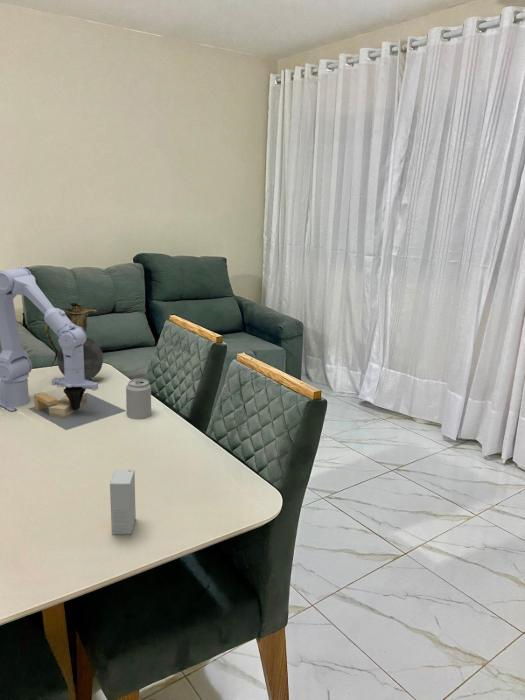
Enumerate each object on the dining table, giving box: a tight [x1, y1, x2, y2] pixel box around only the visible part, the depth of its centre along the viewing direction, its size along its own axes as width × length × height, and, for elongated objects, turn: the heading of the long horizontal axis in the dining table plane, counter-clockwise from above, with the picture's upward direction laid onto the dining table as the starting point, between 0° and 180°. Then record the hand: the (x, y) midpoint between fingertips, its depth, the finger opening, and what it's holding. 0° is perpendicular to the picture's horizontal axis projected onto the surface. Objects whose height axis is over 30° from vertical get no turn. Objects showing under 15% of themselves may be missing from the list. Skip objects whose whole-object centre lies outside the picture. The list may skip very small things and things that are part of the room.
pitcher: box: [44, 302, 104, 382], centre depth 192 cm, size 11×19×30 cm, turn 107°
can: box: [125, 378, 152, 420], centre depth 168 cm, size 8×8×12 cm
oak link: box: [49, 392, 87, 418], centre depth 170 cm, size 14×5×3 cm, turn 170°
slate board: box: [28, 391, 127, 431], centre depth 170 cm, size 22×21×6 cm
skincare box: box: [109, 468, 137, 536], centre depth 113 cm, size 6×4×12 cm
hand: (76, 408), depth 167 cm, fingers closed
